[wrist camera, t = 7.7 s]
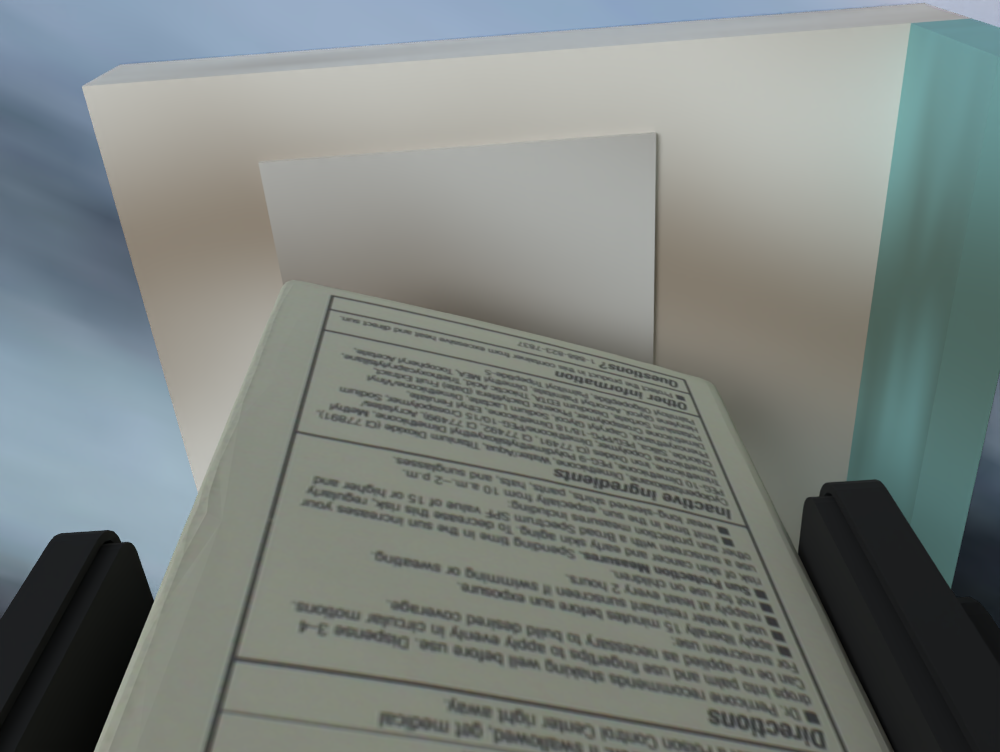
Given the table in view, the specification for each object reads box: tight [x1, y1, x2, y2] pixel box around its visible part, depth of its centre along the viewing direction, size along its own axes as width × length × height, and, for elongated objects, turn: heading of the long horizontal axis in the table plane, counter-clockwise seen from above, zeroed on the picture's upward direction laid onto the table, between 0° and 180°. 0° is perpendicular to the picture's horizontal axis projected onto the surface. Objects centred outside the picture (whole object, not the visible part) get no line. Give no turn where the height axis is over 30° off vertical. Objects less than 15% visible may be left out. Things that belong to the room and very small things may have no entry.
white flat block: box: [82, 3, 1000, 588], centre depth 17 cm, size 22×12×4 cm, turn 4°
